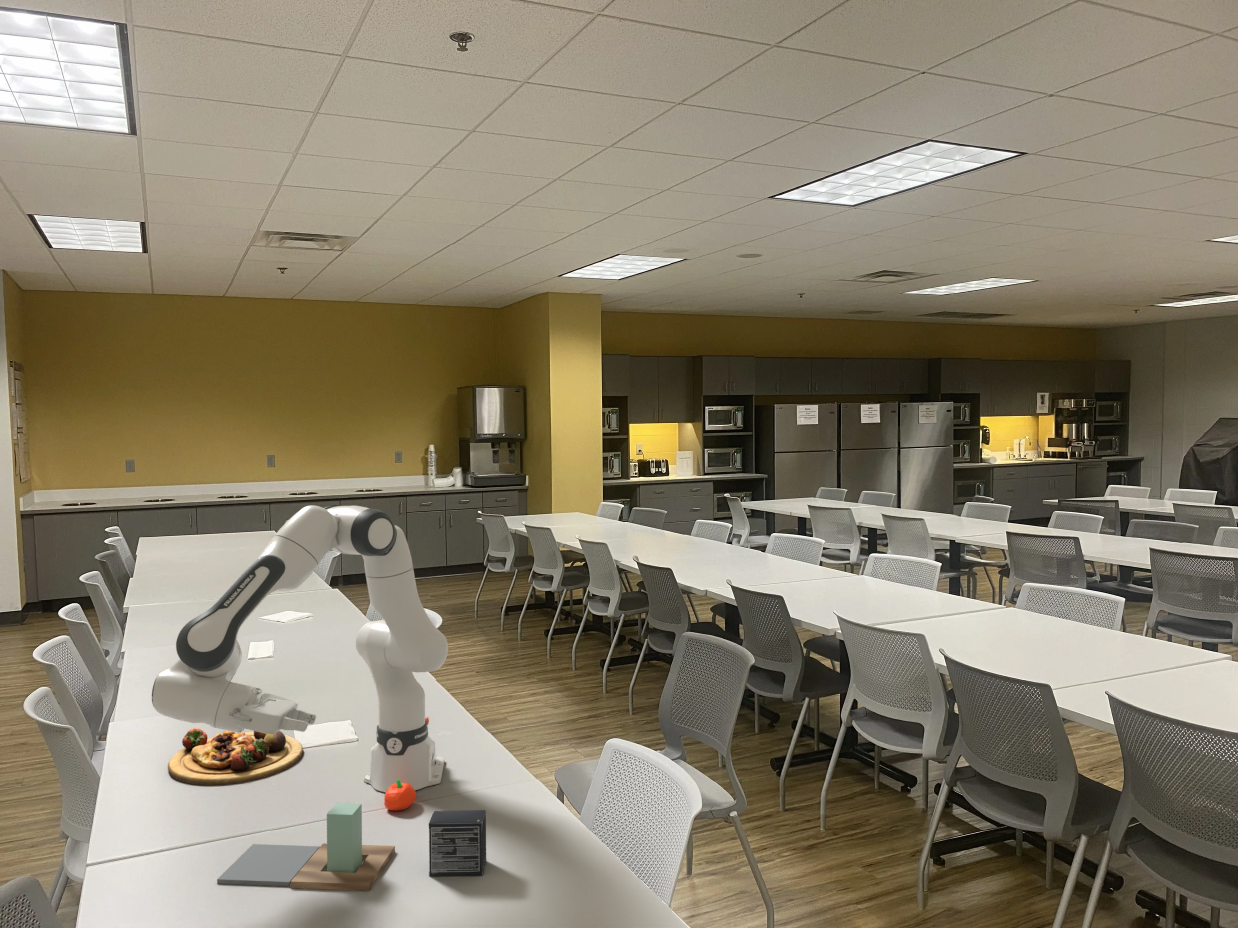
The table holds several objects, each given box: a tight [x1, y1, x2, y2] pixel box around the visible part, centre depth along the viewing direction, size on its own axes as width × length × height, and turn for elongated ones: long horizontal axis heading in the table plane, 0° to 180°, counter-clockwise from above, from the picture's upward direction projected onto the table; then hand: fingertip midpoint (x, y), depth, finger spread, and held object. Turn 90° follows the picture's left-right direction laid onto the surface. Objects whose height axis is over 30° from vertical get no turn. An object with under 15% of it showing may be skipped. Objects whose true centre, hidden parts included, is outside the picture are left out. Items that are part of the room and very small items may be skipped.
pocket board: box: [290, 842, 396, 892], centre depth 170 cm, size 15×15×1 cm
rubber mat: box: [216, 843, 321, 887], centre depth 171 cm, size 14×14×1 cm
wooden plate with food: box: [167, 727, 304, 786], centre depth 225 cm, size 32×32×8 cm
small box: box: [428, 809, 487, 877], centre depth 170 cm, size 11×6×10 cm, turn 92°
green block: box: [326, 802, 363, 873], centre depth 170 cm, size 5×5×12 cm
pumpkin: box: [383, 779, 417, 812], centre depth 197 cm, size 7×8×6 cm
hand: (311, 723), depth 171 cm, fingers open, 8 cm apart
